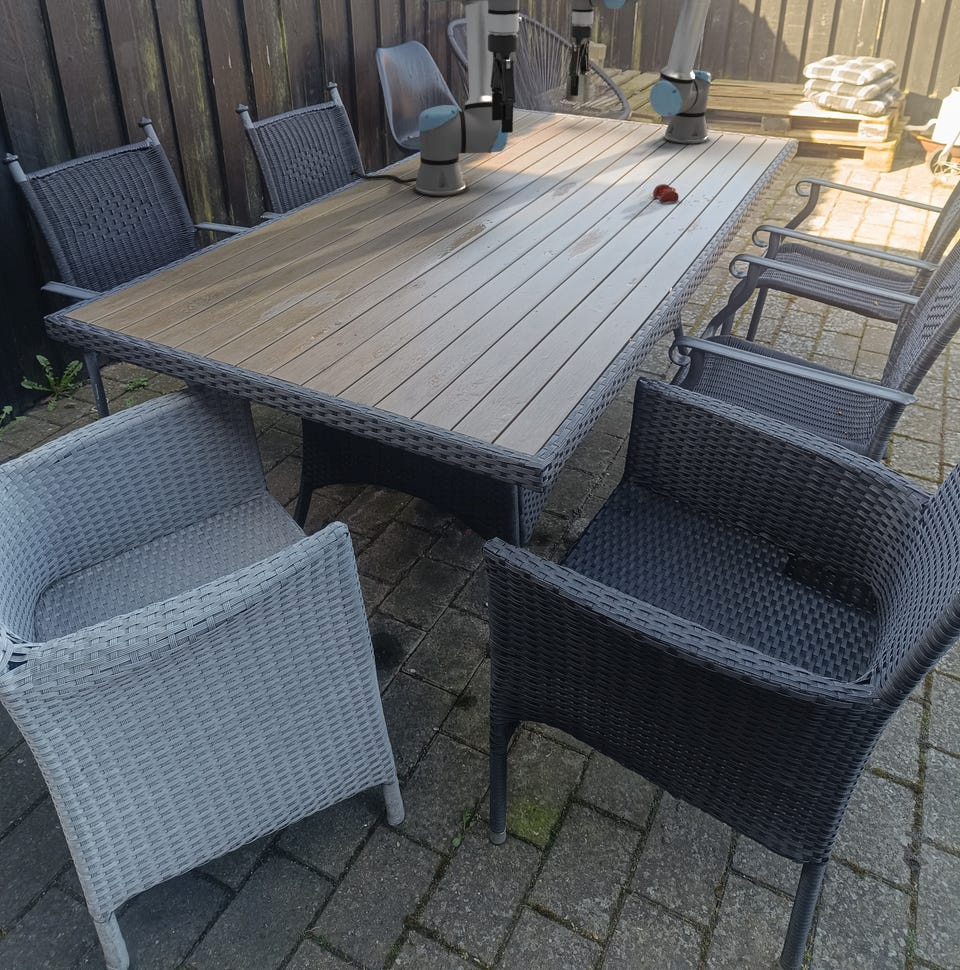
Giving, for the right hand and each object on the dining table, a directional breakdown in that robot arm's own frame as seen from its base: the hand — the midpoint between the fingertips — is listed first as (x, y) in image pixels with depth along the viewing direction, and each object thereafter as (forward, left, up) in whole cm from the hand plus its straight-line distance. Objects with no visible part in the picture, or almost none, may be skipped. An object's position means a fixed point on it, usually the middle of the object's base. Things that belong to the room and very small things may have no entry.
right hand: (578, 93), depth 315 cm
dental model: (+69, +59, -13) cm, 92 cm away
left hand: (+113, +28, +13) cm, 117 cm away
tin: (0, 0, -2) cm, 2 cm away
